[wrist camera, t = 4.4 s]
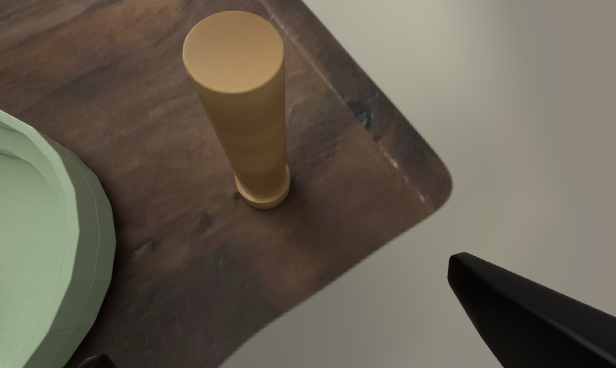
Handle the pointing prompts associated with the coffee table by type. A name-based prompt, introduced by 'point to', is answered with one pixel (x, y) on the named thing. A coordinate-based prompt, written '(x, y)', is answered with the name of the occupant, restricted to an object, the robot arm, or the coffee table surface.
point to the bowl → (49, 248)
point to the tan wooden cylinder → (244, 99)
